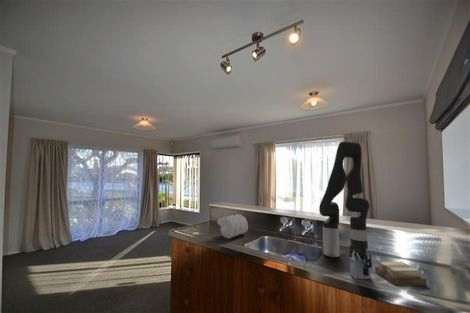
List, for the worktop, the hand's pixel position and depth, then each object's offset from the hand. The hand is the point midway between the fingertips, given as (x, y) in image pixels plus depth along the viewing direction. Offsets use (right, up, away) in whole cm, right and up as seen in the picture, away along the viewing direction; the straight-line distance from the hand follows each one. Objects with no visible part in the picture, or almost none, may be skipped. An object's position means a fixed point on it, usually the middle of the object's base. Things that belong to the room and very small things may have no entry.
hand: (360, 271), depth 104 cm
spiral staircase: (-64, -9, +70) cm, 95 cm away
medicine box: (0, -3, 0) cm, 3 cm away
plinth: (+18, -3, -2) cm, 18 cm away
